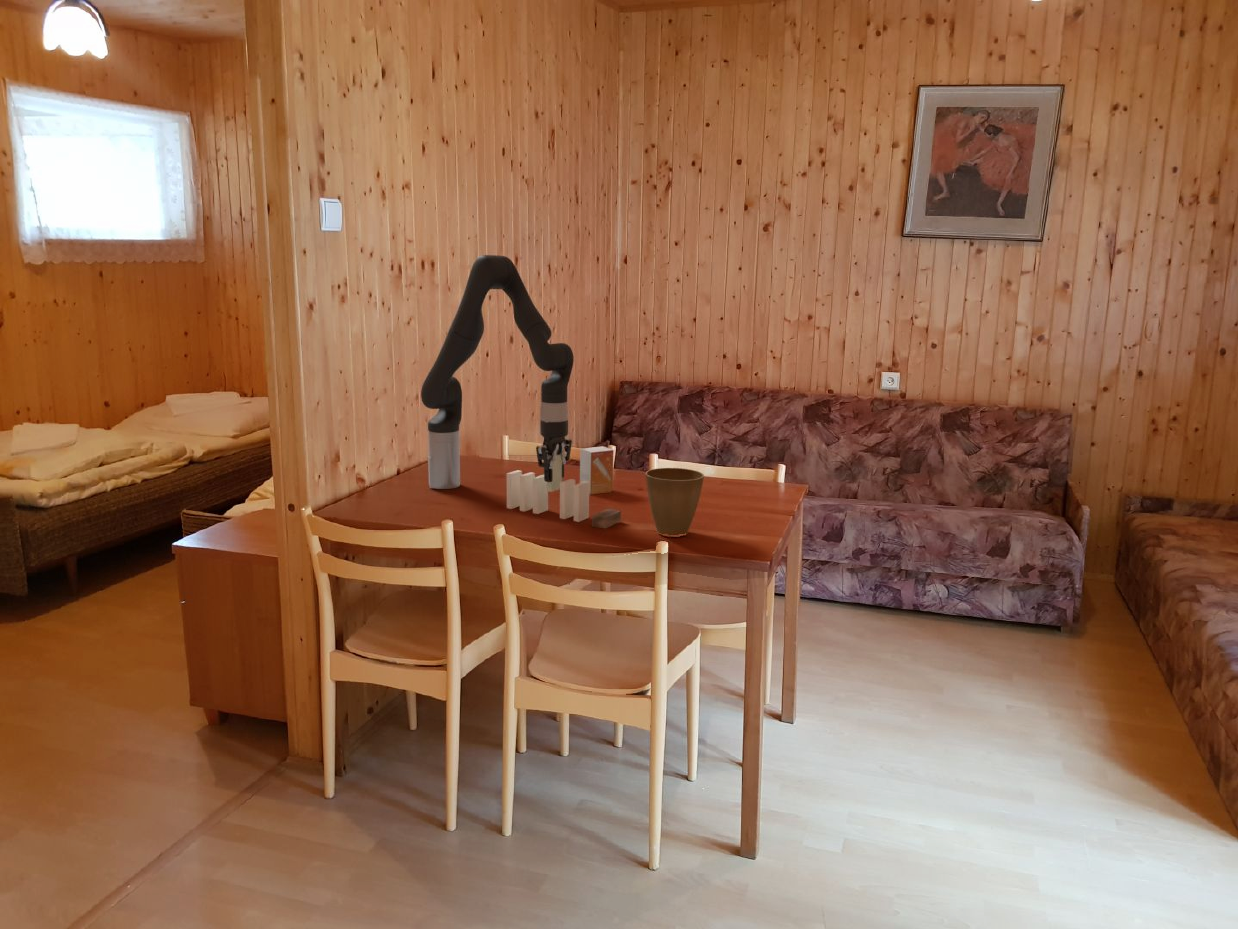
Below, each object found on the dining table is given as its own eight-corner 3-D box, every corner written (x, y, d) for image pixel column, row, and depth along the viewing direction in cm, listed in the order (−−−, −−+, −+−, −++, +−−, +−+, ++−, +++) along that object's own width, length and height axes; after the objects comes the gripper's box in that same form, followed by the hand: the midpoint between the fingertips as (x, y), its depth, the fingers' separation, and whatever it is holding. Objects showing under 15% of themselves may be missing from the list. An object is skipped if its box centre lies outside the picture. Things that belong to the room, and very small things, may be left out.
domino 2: (519, 510, 269) (519, 475, 267) (530, 506, 273) (530, 472, 271) (524, 511, 268) (524, 476, 266) (534, 507, 272) (534, 473, 270)
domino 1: (506, 508, 271) (506, 473, 269) (517, 504, 275) (517, 470, 273) (511, 509, 270) (511, 474, 268) (522, 505, 275) (522, 470, 272)
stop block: (591, 526, 255) (592, 515, 255) (607, 519, 262) (608, 508, 261) (604, 528, 253) (605, 517, 253) (620, 521, 260) (620, 511, 259)
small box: (590, 495, 287) (590, 452, 284) (579, 490, 292) (579, 448, 289) (613, 492, 291) (614, 449, 288) (601, 487, 296) (602, 445, 293)
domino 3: (532, 513, 267) (532, 477, 264) (543, 509, 271) (543, 474, 269) (537, 514, 266) (537, 478, 264) (548, 510, 270) (548, 475, 268)
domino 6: (573, 521, 260) (574, 484, 258) (583, 516, 264) (584, 481, 262) (578, 521, 259) (579, 485, 257) (588, 517, 263) (589, 482, 261)
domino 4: (546, 491, 263) (546, 455, 261) (557, 487, 267) (557, 452, 265) (551, 492, 262) (551, 456, 260) (561, 488, 266) (562, 452, 264)
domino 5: (559, 518, 262) (560, 482, 260) (570, 514, 266) (570, 478, 264) (564, 519, 261) (564, 483, 259) (574, 515, 266) (575, 479, 263)
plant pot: (706, 542, 244) (708, 480, 240) (647, 542, 243) (649, 480, 239) (696, 525, 258) (699, 466, 255) (641, 525, 257) (642, 466, 253)
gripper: (557, 413, 268) (557, 473, 272) (527, 420, 256) (527, 483, 260) (580, 415, 264) (580, 476, 268) (550, 423, 252) (550, 486, 256)
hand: (554, 479), depth 264 cm, fingers closed on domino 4, 5 cm apart
